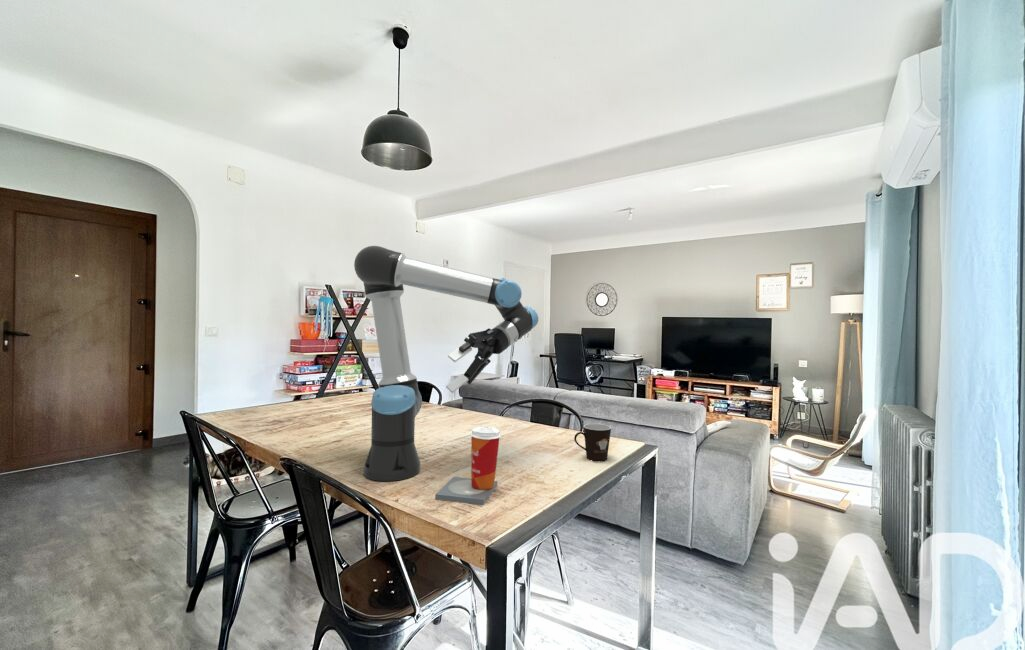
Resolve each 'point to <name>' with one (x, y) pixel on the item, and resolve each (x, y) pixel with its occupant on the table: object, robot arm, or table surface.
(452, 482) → the coaster
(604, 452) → the coffee mug
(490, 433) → the paper cup
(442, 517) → the table surface
